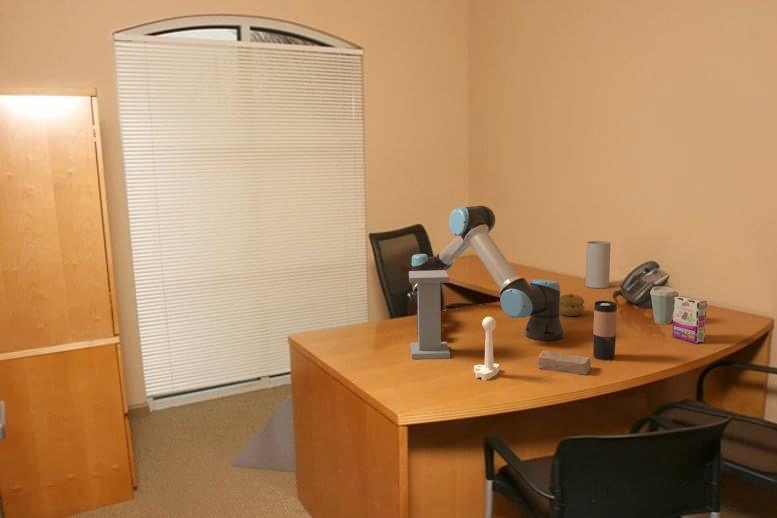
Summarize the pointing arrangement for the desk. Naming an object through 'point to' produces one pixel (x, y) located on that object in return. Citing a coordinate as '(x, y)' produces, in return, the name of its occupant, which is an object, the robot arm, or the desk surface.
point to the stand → (429, 315)
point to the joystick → (487, 352)
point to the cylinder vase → (597, 264)
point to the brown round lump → (571, 305)
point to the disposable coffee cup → (663, 304)
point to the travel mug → (604, 330)
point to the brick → (563, 363)
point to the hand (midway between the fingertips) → (425, 301)
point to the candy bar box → (689, 319)
